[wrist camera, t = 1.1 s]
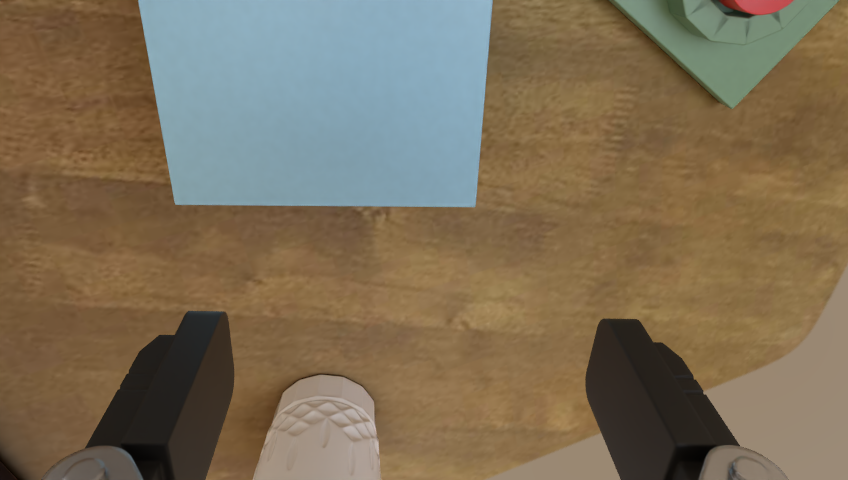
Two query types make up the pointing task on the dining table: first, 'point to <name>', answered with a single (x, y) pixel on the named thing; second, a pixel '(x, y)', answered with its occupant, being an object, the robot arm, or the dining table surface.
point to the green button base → (724, 39)
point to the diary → (6, 473)
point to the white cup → (322, 433)
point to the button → (756, 5)
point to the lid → (320, 100)
